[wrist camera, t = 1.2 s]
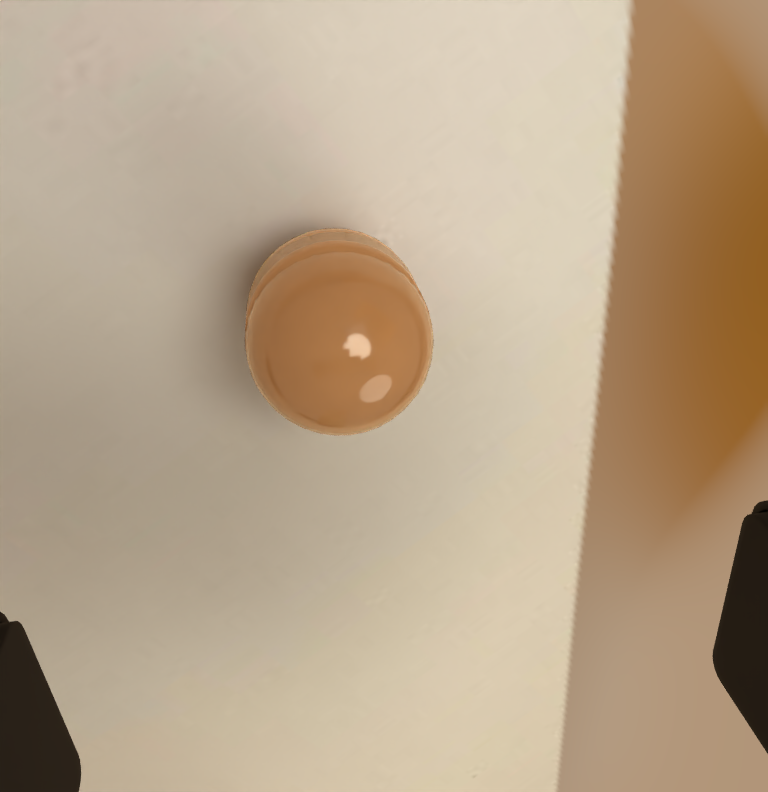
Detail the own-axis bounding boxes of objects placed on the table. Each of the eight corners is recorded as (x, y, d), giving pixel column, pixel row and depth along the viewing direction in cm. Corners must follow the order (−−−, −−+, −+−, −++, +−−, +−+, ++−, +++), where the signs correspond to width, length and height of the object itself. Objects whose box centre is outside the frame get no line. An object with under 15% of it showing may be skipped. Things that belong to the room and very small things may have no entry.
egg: (216, 252, 19) (200, 349, 14) (365, 177, 18) (402, 250, 13) (295, 379, 21) (304, 502, 16) (429, 315, 20) (481, 421, 15)
